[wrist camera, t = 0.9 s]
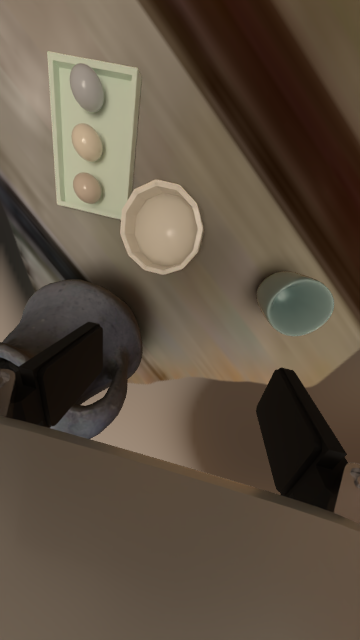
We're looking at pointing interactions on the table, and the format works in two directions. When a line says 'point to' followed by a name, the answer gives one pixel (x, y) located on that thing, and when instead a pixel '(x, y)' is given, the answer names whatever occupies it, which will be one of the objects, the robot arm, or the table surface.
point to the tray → (110, 123)
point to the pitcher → (63, 318)
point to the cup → (294, 302)
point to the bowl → (161, 227)
